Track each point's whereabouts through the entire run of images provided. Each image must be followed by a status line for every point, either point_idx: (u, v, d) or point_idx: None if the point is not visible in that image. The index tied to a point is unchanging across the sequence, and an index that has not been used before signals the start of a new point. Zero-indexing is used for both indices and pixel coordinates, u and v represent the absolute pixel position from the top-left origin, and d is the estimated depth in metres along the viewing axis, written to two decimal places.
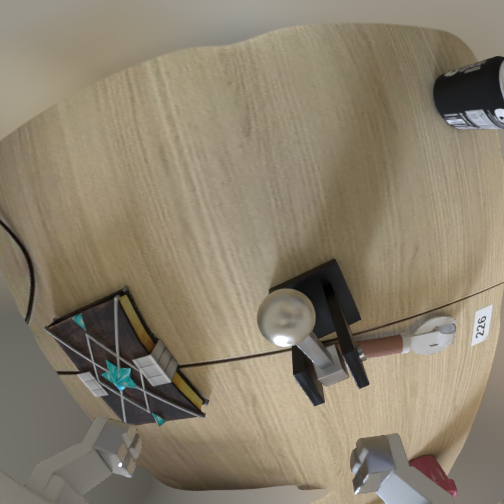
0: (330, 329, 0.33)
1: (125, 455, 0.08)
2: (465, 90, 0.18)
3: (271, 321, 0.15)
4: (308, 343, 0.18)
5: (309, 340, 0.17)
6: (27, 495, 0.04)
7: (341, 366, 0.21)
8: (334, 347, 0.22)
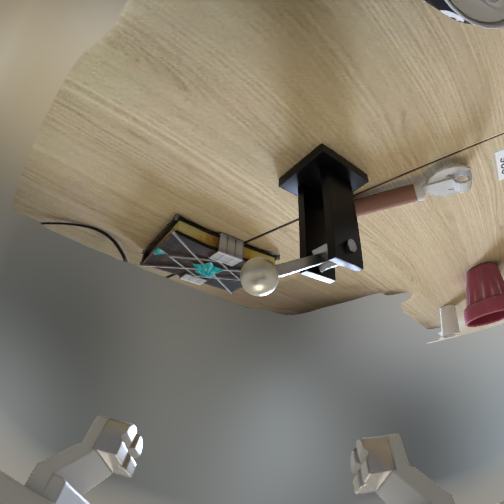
0: None
1: (125, 455, 0.08)
2: None
3: (246, 290, 0.24)
4: (289, 273, 0.26)
5: (287, 274, 0.26)
6: (27, 495, 0.04)
7: (333, 262, 0.29)
8: (326, 246, 0.29)
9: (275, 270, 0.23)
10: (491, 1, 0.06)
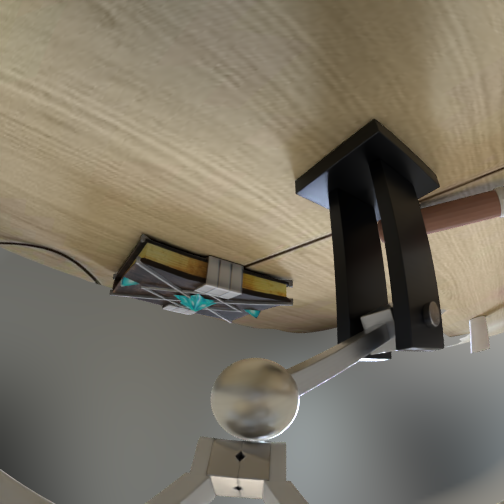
0: None
1: None
2: None
3: (223, 428, 0.09)
4: None
5: (316, 385, 0.11)
6: (27, 495, 0.04)
7: None
8: (390, 313, 0.14)
9: (292, 398, 0.09)
10: None
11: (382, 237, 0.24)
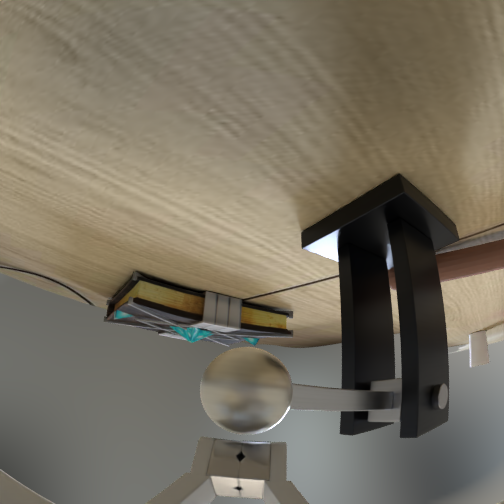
0: None
1: None
2: None
3: None
4: None
5: None
6: (27, 495, 0.04)
7: (399, 415, 0.12)
8: (401, 383, 0.13)
9: (284, 397, 0.09)
10: None
11: (391, 285, 0.22)
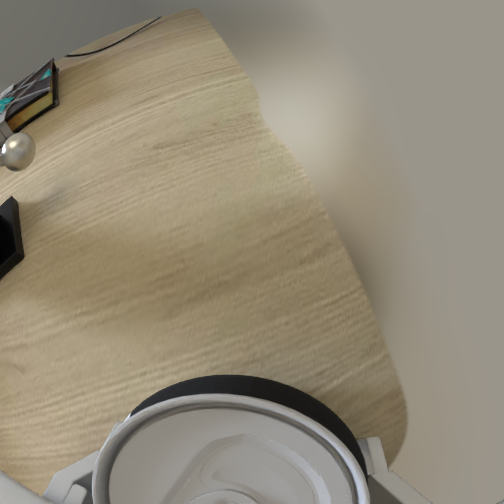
0: None
1: None
2: None
3: (31, 137, 0.17)
4: None
5: None
6: (27, 495, 0.04)
7: None
8: None
9: (12, 162, 0.16)
10: None
11: None
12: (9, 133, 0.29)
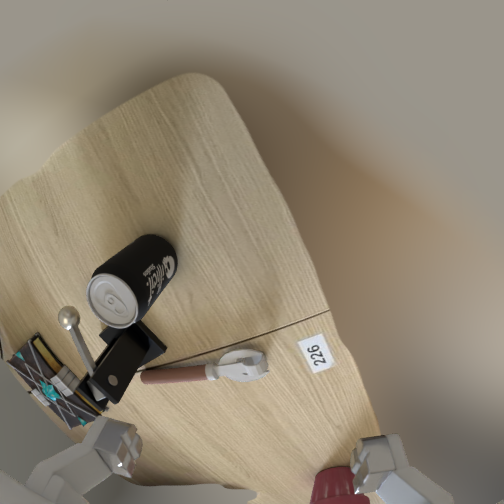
0: (146, 359, 0.41)
1: (125, 455, 0.08)
2: None
3: None
4: (75, 339, 0.32)
5: (75, 336, 0.32)
6: (27, 495, 0.04)
7: None
8: None
9: (74, 316, 0.32)
10: (120, 313, 0.26)
11: (141, 378, 0.41)
12: (64, 369, 0.45)
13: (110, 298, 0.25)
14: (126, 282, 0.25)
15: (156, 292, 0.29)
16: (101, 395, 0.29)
